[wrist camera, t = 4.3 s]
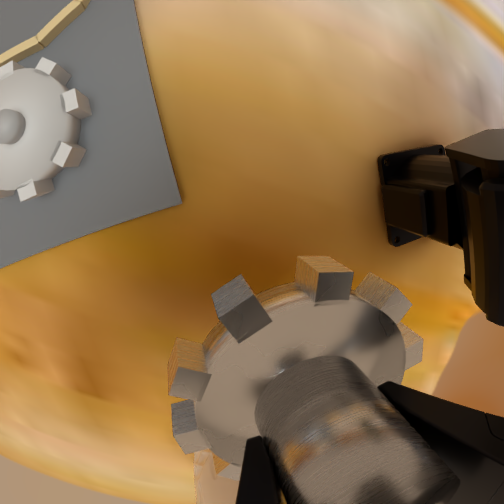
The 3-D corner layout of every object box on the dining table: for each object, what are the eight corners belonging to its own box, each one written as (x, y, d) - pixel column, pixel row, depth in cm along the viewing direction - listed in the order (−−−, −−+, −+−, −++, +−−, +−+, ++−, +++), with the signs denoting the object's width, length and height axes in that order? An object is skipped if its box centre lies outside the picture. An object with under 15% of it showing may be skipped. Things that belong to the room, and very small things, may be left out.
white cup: (166, 423, 22) (175, 532, 12) (258, 382, 22) (304, 490, 13) (214, 470, 24) (236, 560, 15) (292, 436, 25) (336, 524, 16)
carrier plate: (120, -87, 11) (115, -127, 6) (181, 200, 18) (183, 213, 13) (-43, -9, 9) (-72, -30, 4) (-11, 270, 16) (-50, 298, 11)
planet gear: (392, 224, 10) (572, 294, 4) (396, 404, 12) (481, 497, 6) (124, 309, 8) (81, 525, 2) (214, 475, 11) (250, 606, 5)
